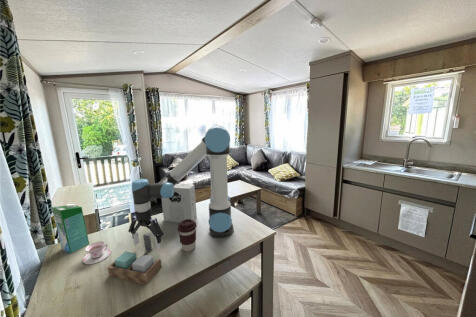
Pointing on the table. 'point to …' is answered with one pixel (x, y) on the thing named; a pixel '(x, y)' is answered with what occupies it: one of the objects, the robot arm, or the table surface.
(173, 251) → the table surface
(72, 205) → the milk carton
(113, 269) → the wooden tray
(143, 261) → the slate block
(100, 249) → the teacup
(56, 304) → the table surface
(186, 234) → the coffee cup
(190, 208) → the cereal box
